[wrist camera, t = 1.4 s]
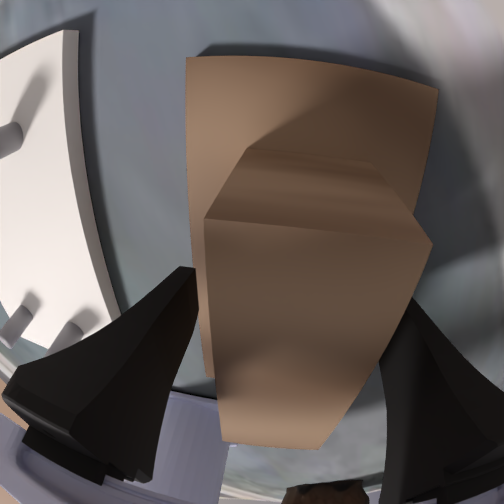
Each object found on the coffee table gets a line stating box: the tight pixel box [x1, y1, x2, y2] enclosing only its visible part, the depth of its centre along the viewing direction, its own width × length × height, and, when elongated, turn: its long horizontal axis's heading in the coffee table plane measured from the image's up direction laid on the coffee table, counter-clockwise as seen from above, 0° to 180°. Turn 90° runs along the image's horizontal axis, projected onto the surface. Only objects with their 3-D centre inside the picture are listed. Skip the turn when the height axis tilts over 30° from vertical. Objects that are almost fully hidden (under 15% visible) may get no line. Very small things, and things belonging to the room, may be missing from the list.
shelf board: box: [186, 56, 439, 450], centre depth 10 cm, size 16×8×6 cm, turn 178°
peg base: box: [0, 30, 121, 358], centre depth 12 cm, size 20×12×4 cm, turn 177°
